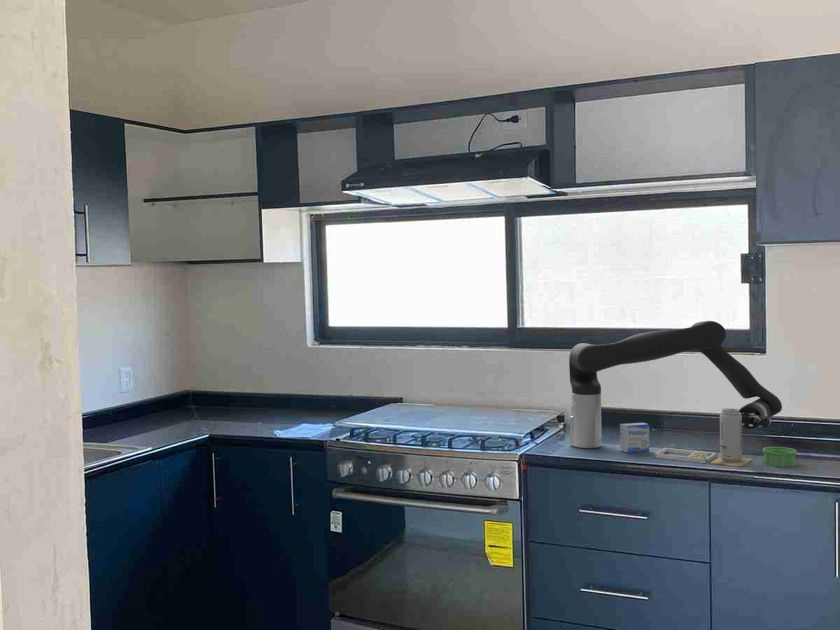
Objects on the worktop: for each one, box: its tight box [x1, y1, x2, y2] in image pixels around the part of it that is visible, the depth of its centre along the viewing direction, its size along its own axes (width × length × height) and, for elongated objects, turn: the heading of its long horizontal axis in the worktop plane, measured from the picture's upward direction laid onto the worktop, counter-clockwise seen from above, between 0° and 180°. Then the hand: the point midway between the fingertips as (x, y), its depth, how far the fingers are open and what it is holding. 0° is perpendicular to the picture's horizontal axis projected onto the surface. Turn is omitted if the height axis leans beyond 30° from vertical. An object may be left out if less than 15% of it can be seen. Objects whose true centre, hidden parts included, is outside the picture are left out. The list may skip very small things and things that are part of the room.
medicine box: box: [619, 422, 650, 454], centre depth 261 cm, size 8×4×9 cm, turn 105°
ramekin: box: [762, 446, 798, 468], centre depth 240 cm, size 9×9×4 cm
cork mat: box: [709, 455, 753, 469], centre depth 244 cm, size 9×11×1 cm
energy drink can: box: [719, 408, 743, 462], centre depth 243 cm, size 6×6×15 cm
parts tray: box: [653, 447, 718, 464], centre depth 251 cm, size 16×10×1 cm, turn 55°
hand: (739, 423), depth 250 cm, fingers open, 8 cm apart
